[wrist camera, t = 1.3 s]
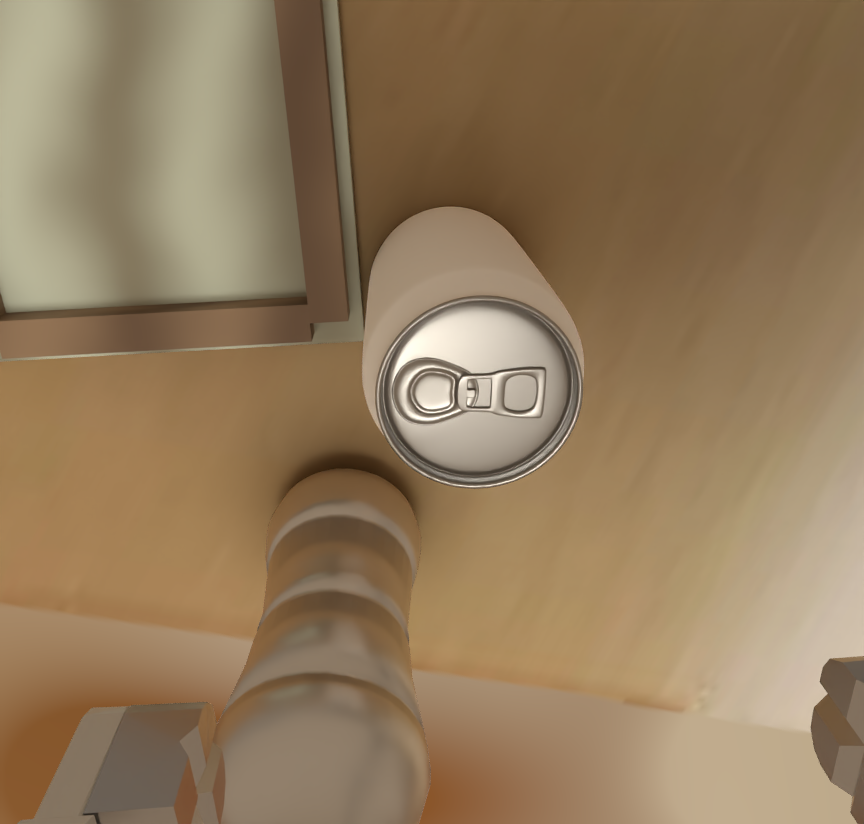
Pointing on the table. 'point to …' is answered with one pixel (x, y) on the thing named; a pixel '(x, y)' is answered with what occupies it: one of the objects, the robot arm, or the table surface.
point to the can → (468, 352)
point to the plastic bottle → (331, 665)
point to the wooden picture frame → (174, 178)
